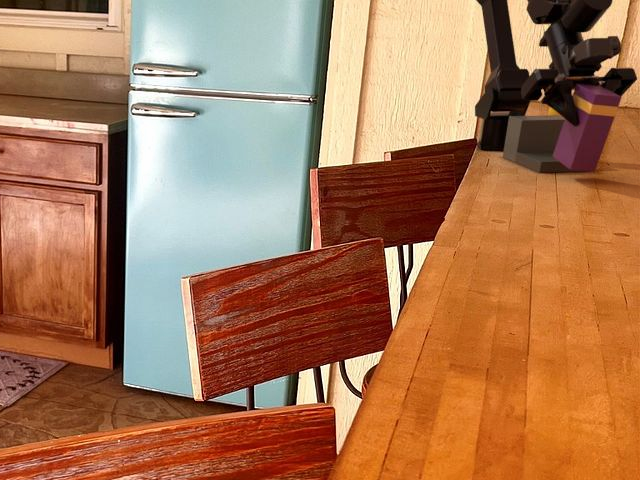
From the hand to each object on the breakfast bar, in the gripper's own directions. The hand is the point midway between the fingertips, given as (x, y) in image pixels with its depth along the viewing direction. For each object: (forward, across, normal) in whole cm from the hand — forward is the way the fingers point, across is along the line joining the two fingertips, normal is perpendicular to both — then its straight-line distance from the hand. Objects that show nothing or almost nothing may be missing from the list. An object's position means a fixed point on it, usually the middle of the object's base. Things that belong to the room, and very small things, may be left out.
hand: (590, 124), depth 153 cm
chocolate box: (+4, -1, +6) cm, 7 cm away
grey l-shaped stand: (-3, +1, +17) cm, 17 cm away
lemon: (-27, +24, +42) cm, 55 cm away
